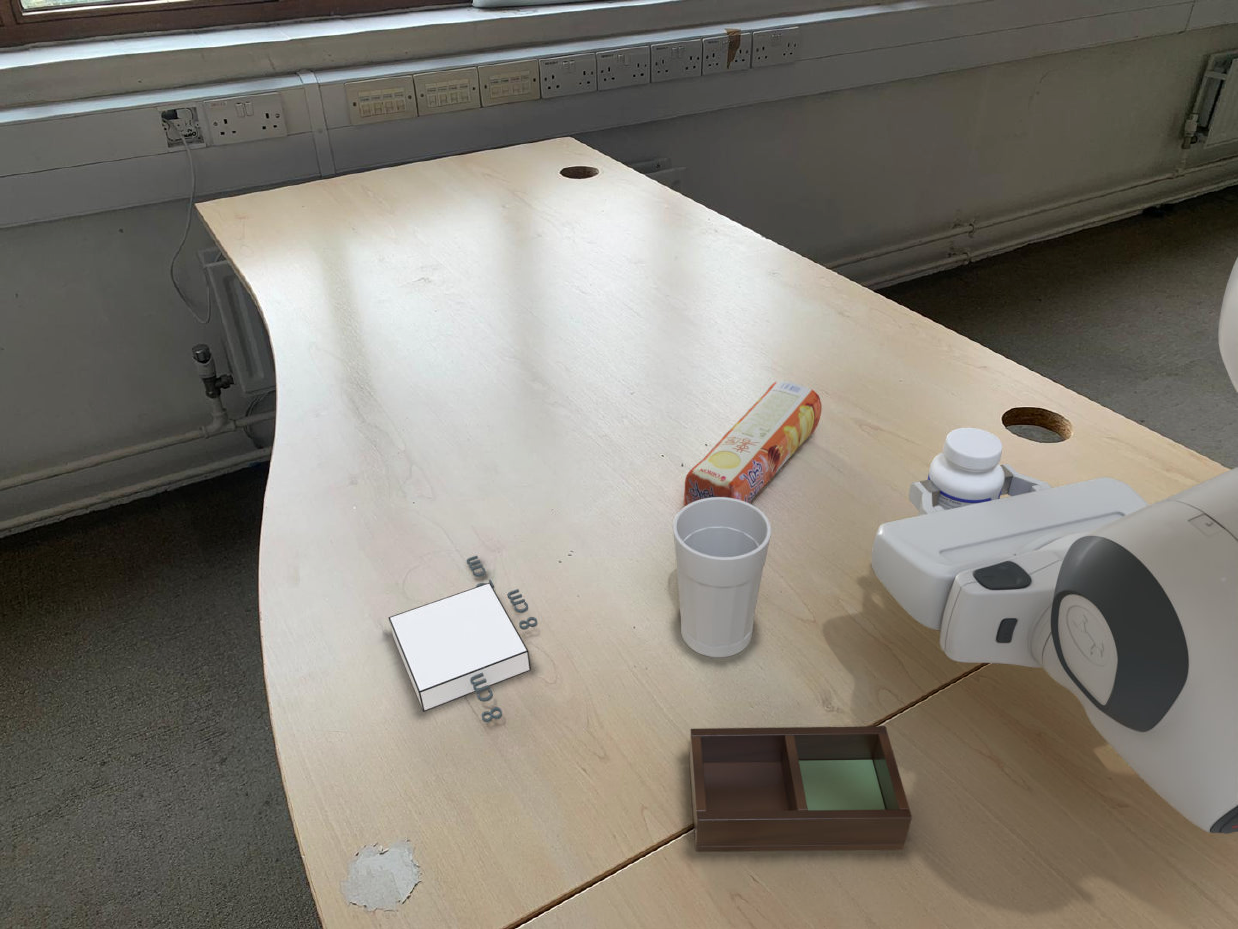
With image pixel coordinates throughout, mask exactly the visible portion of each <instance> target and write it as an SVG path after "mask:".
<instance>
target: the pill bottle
mask: <svg viewBox="0 0 1238 929" xmlns="http://www.w3.org/2000/svg"><path fill="white" fill-rule="evenodd" d="M1002 453H1003V442H1002V441H1001V440H1000V439H999V437H998V436H997V435H996V434H993V433H992V432H989V431H987V430H985V429H981V428H976V427H960V428H959V427H958V428H956V429H953V430H951V431H950V432H949V433H948V434H947V435H946V438H945V441H944V444H943V446H942V452H940V453H937V455H936V456H934V458H933V459H932V461H931V463H930V465H929V470H928V475H927V480H931V481H932V482H933V484H934V485H936V486H937V487H938V488H939V489H940V490H941V492H940V497H939V498H938V499H937V501H938V505H939V506H941V507H942V508H943V509H944V510H949V509H954V508H958V507H963V506H968V505H973V504H977V503H982V502H987V501H992V500H996V499H1001V496H1002V495H1001V492H1002V488H1003V484H1004V479H1005V476H1004V471H1003V469H1002V467H1001V466H1000V465H1001V464H1000V462H1001V458H1002Z"/></svg>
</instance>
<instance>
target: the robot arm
mask: <svg viewBox="0 0 1238 929" xmlns="http://www.w3.org/2000/svg"><path fill="white" fill-rule="evenodd" d="M1217 338H1218V347H1219V353H1220V356H1221V359H1222V363H1223V365H1224V367H1225V369H1226V373H1227V374H1228V377H1229V379H1230V382H1231V383H1232V385H1233V387H1234V389H1235V391H1236V393H1237V394H1238V256H1237V258H1236V259H1235V262H1234V263H1233V267H1232V269H1231V272H1230V274H1229V277H1228V281H1227V284H1226V287H1225V291H1224V294H1223V298H1222V303H1221V307H1220V313H1219V321H1218V336H1217ZM999 465H1000V466H1001V467H1002V469H1003V471H1004V476H1005V479H1004V484H1003V488H1002V492H1001V496H1006V495H1008V496H1006V497H1002V498H1001V497H1000V499H996V500H992V501H987V502H982V503H977V504H973V505H968V506H963V507H958V508H954V509H949V510H944V509H943V508H942V507H941V506H939V505H938V501H937V499H938V498H939V497H940V492H941V490H940V489H939V488H938V487H937V486H936V485H934V484H933V482H932V481H931V480H928V479H924V480H919V481H918V480H917V481H914V482H911V483H910V484H909V485H910V486H909V490H908V499H909V502H910V503H911V504H912V506H914V508H915V509H916V510H917V511H918V515H917V516H911V517H906V518H901V519H896V520H892V521H887V522H884V523H881V524H880V525H879V527H878V528H877V531H876V533H875V536H874V539H873V544H872V550H871V557H870V560H871V562H870V564H871V568H872V571H873V572H874V574H875V576H876V577H877V578H878V580H879V581H880V583H881V584H882V586H883V587H884V588H885V589H886V590H887V592H888V593H889V594H890V595H891V596H892V597H893V598H894V600H895V602H897V603H898V604H899V605H900V606H901V607H902V609H904V611H905V612H906V613H907V614H908V615H909V616H910V617H911V618H912V619H913V620H915V621H916V622H918V623H919V624H921V625H922V626H924V627H926V628H929V629H931V630H935V631H940V632H939V646H940V648H941V650H942V652H943V653H944V655H946V656H947V658H948V659H950V660H952V661H954V662H958V663H969V664H970V663H973V664H974V663H975V664H978V663H979V664H1001V665H1003V664H1004V665H1013V666H1021V667H1027V668H1036V669H1038V668H1039V669H1040V668H1041V669H1043V670H1044V671H1045V673H1046V674H1047V675H1048V676H1049V677H1050V679H1052V680H1053V681H1055V682H1056V683H1058V684H1059V685H1060V686H1061V687H1063V688H1064V689H1067V690H1068V691H1069V692H1071V693H1072V694H1073V695H1074V696H1075V697H1076V698H1077V699H1078V701H1079V702H1080V704H1081V706H1082V707H1083V709H1084V712H1085V714H1086V716H1087V719H1088V720H1089V722H1090V724H1091V725H1092V726H1093V728H1094V729H1095V730H1096V731H1097V732H1098V733H1099V735H1101V737H1102V738H1103V739H1104V740H1105V742H1106V743H1107V744H1108V745H1109V746H1110V747H1111V748H1112V749H1113V750H1114V752H1115V753H1117V755H1118V756H1119V757H1120V758H1121V759H1122V760H1123V761H1124V762H1125V764H1127V766H1128V767H1129V768H1131V769H1132V771H1134V772H1135V774H1137V775H1138V776H1139V778H1141V779H1142V780H1143V781H1144V782H1145V783H1146V784H1147V785H1148V787H1150V789H1152V791H1154V792H1155V793H1156V794H1157V795H1158V796H1159V797H1161V798H1162V800H1164V801H1165V802H1166V803H1167V804H1169V806H1171V807H1172V808H1173V809H1174V810H1175V811H1177V813H1179V814H1180V815H1182V816H1183V818H1185V819H1186V820H1188V821H1189V822H1191V823H1192V824H1193V825H1195V826H1196V827H1198V828H1199V829H1200V830H1203V832H1206V833H1210V834H1224V835H1225V834H1226V835H1227V834H1233V833H1238V466H1236V467H1234V468H1232V469H1230V470H1227V471H1224V472H1223V473H1220V474H1218V475H1216V476H1213V477H1211V478H1209V479H1206V480H1204V481H1202V482H1199V483H1198V484H1195V485H1193V486H1191V487H1189V488H1187V489H1184V490H1181V491H1179V492H1177V493H1175V494H1173V495H1170V496H1168V497H1166V498H1163V499H1161V500H1158V501H1155V502H1153V503H1151V504H1150V503H1148V502H1147V501H1146V500H1145V499H1144V497H1142V496H1141V494H1139V493H1138V492H1137V490H1135V489H1134V488H1133V487H1132V486H1130V485H1129V484H1128V483H1126V482H1125V481H1123V480H1120V479H1116V478H1113V477H1109V476H1100V477H1096V478H1093V479H1092V478H1091V479H1088V480H1083V481H1077V482H1073V483H1068V484H1063V485H1059V486H1054V487H1053V486H1051V484H1049V483H1048V482H1047V481H1044V480H1040V479H1038V478H1035V477H1032V476H1029V475H1026V474H1023V473H1020V472H1019V471H1017V470H1016V469H1015V468H1014V467H1012V466H1011V465H1010V464H1009V463H1003V464H999Z"/></svg>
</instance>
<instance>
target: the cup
mask: <svg viewBox="0 0 1238 929" xmlns="http://www.w3.org/2000/svg"><path fill="white" fill-rule="evenodd" d="M672 533H673V542H674V552H675V553H674V554H675V563H676V564H675V566H676V574H677V575H676V577H677V587H678V600H679V601H678V602H679V609H680V611H679V612H680V633H681V637H682V639H683V641H684V643H685V644H686V645H687V646H688V647H689V648H690V649H691V650H692V651H694V652H696V653H698V654H700V655H702V656H705V657H711V658H727V657H733V656H734V655H737V654H739V653H740V652H742V651H743V650H745V649H747V647H748V646H749V644H750V642H751V641H752V637H753V628H754V618H755V613H756V608H757V602H758V597H759V591H760V586H761V582H762V575H763V571H764V567H765V565H766V559H767V555H768V551H769V546H770V541H771V537H772V525H771V522H770V520H769V518H768V517H767V516H766V514H765V513H764V512H763V511H762V510H760V508H758V507H757V506H756V505H755V506H754V504H751V503H750V502H749V503H747V502H744V501H741V500H738V499H733V498H726V497H712V498H705V499H701V500H697V501H695V502H692V503H690V504H688V505H687V506H685V505H684V506H683V507H682V508H681V509H680V510H679V511H678V512H677V513H676V515H675V517H674V519H673V522H672Z"/></svg>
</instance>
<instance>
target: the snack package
mask: <svg viewBox="0 0 1238 929" xmlns="http://www.w3.org/2000/svg"><path fill="white" fill-rule="evenodd" d="M822 406H823V405H822V400H821V398H820V395H819V394H818V393H817V392H816V391H815V390H813V389H812V388H810V387H808V386H806V385H803V384H802V383H801V384H800V383H798V382H795V381H791V380H780V381H775V382H774V383H772V384H771V385H770V386H769V388H768V389H767V390H766V391H765V392H764V394H763V395H762V396H761V397H760V398H758V400H757V401H755V403H754V404H753V405H752V406H751V407H750V408H749V409H748V410H747V411H746V412H745V414H744V415H742V417H741V418H740V419H739V420H738V421H737V422H736V423H735V424H734V425H733V426H732V427H731V428H730V429H729V430H728V431H727V432H726V433H725V434H724V435H723V436H722V437H721V439H720V440H719V441H718V442H717V443H716V444H715V445H714V447H712V448H711V450H710V451H709V452H708V453H707V454H706V455H705V456H704V457H703V458H702V459H701V460H700V461H699V462H697V463H696V464H695V465H694V466H693V467H692V468H691V469H690V470H689V471H688V472H687V474H686V476H685V478H684V491H683V492H684V493H683V503H684V507H685V506H687V505H688V504H690V503H692V502H695V501H697V500H701V499H705V498H712V497H726V498H733V499H738V500H741V501H744V502H747V503H749V504H750V503H751V502H752V500H754V498H755V497H756V496H757V494H758V493H760V491H762V489H764V487H765V486H766V485H767V484H768V483H769V482H770V481H771V480H772V478H774V477H775V475H776V474H777V473H778V472H779V470H780V469H781V468H782V467H783V466H784V465H785V464H786V462H787V461H788V460H789V459H790V458H791V457H792V456H793V455H794V454H795V452H796V451H797V450H798V449H799V447H800V446H802V444H803V443H804V442H805V441H806V440H807V439H808V438H809V437H810V436H812V434H813V433H814V432H815V431H816V429H817V428H818V425H819V423H820V420H821V415H822V410H823V408H822Z"/></svg>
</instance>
